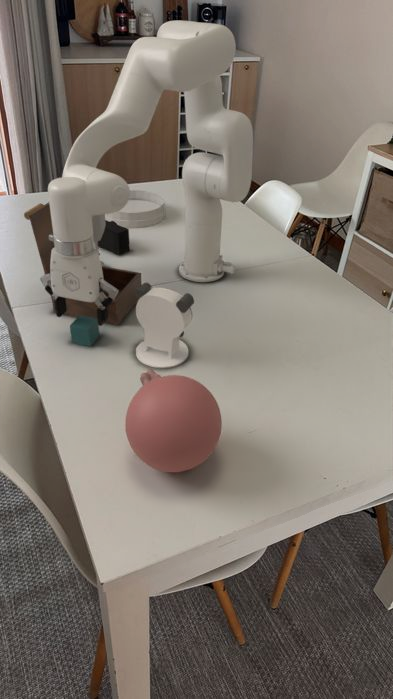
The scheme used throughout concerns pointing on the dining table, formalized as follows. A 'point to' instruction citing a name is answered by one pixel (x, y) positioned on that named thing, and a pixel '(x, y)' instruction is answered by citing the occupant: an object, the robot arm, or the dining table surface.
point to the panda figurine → (162, 325)
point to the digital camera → (115, 238)
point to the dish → (139, 210)
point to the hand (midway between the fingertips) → (82, 318)
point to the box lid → (42, 232)
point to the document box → (121, 304)
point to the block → (84, 330)
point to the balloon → (172, 422)
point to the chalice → (98, 231)
